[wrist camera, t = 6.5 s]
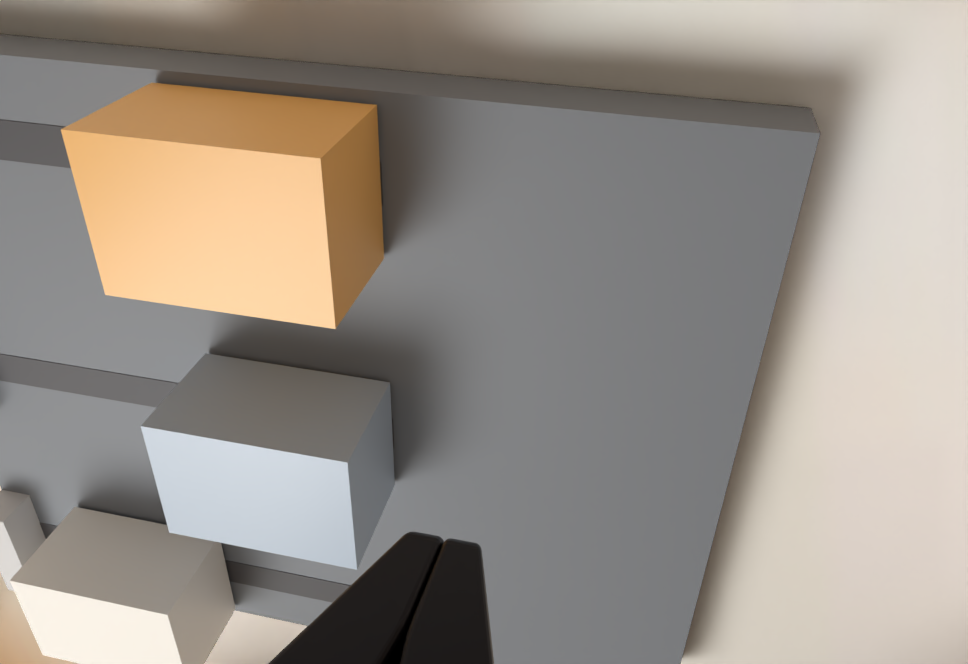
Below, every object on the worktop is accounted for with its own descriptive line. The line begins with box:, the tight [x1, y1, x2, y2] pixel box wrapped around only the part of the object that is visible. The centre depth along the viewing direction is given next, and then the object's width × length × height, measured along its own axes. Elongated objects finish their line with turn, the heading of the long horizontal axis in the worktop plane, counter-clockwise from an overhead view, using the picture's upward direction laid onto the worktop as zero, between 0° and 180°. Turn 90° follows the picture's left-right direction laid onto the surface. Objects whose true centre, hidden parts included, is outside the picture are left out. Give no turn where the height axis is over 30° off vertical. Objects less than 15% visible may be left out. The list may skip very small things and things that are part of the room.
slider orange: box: [61, 83, 384, 329], centre depth 17 cm, size 5×4×3 cm
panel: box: [0, 34, 820, 664], centre depth 22 cm, size 22×18×3 cm
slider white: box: [10, 507, 236, 664], centre depth 25 cm, size 5×4×3 cm
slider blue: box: [141, 353, 395, 570], centre depth 20 cm, size 5×4×3 cm
